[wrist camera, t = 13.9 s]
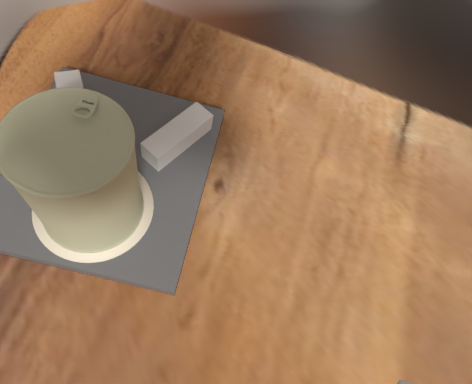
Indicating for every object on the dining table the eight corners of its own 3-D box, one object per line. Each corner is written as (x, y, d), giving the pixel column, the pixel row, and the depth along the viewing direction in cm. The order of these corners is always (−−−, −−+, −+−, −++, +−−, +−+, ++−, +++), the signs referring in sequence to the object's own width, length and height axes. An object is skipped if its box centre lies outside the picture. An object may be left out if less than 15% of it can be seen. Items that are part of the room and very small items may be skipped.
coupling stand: (223, 118, 46) (227, 95, 42) (174, 295, 35) (175, 285, 32) (65, 76, 45) (57, 49, 41) (-31, 246, 34) (-53, 230, 31)
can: (158, 182, 38) (155, 105, 28) (120, 267, 34) (100, 214, 24) (70, 153, 38) (34, 65, 28) (21, 235, 34) (-43, 167, 23)
